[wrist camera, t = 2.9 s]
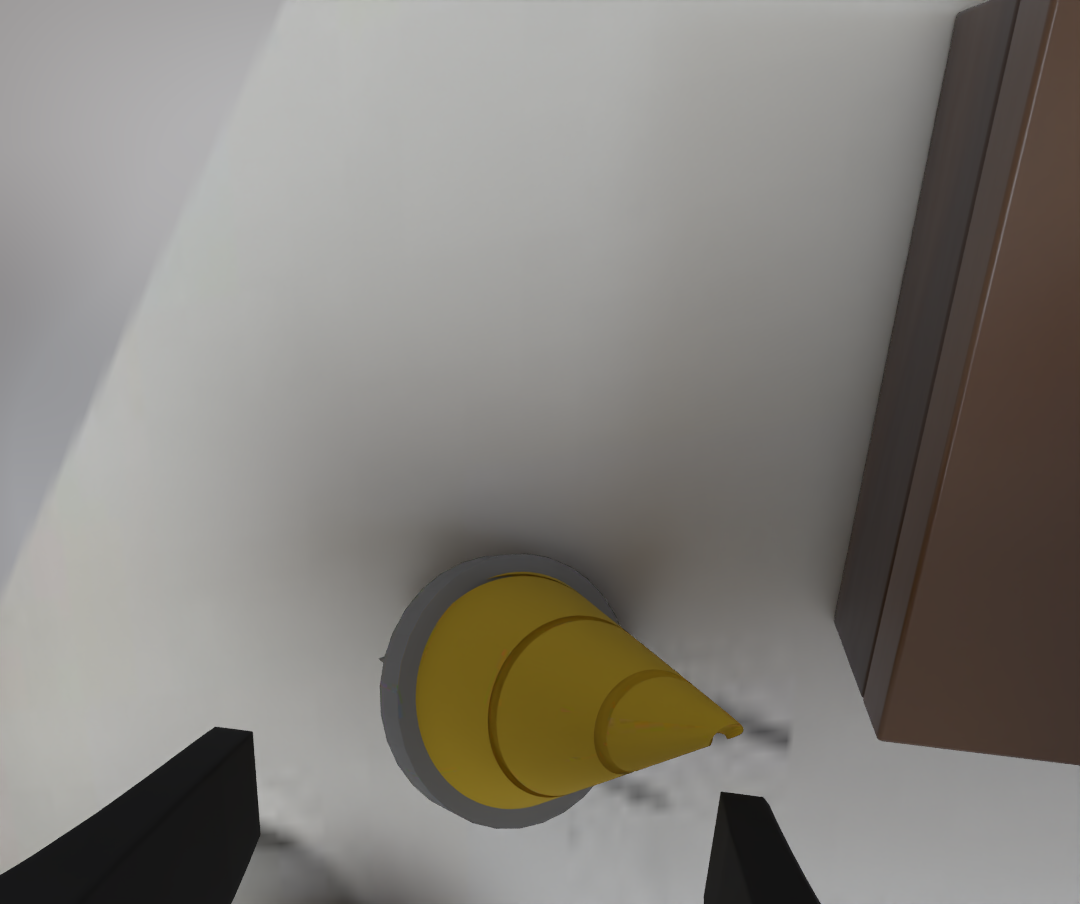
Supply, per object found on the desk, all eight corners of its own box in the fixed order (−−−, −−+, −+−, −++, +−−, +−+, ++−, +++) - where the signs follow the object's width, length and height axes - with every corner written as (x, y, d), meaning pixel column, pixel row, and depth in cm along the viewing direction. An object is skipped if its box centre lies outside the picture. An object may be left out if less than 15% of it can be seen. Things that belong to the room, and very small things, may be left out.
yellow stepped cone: (369, 535, 20) (617, 493, 12) (559, 587, 22) (882, 584, 14) (308, 775, 19) (542, 929, 10) (519, 803, 21) (851, 946, 12)
